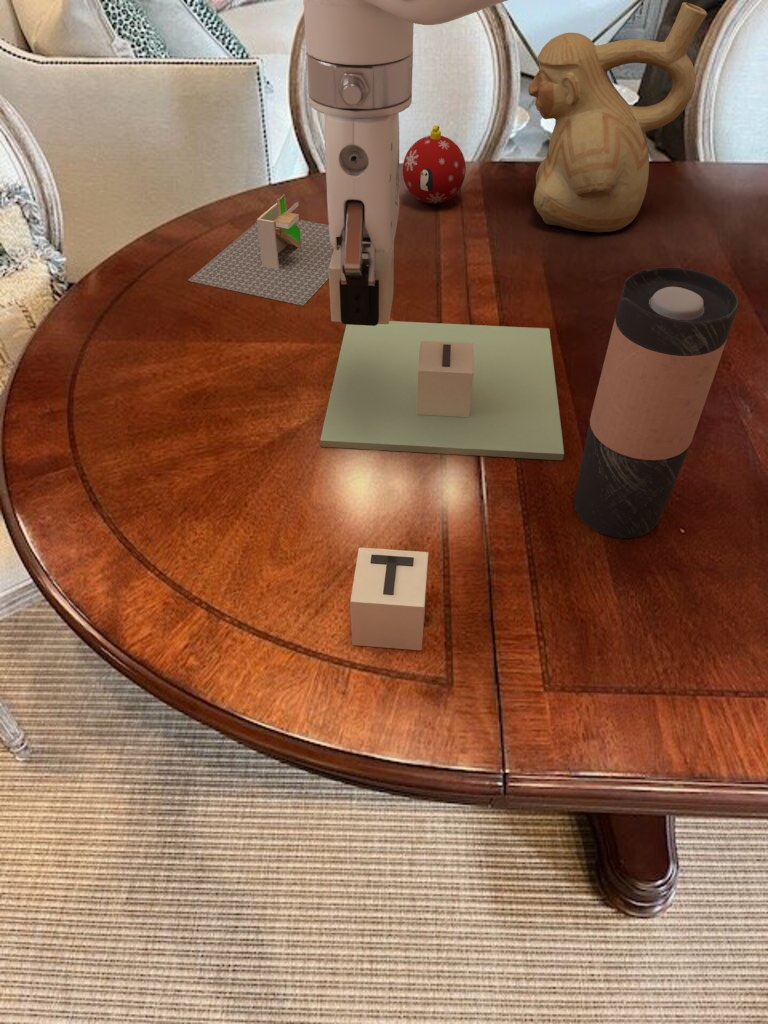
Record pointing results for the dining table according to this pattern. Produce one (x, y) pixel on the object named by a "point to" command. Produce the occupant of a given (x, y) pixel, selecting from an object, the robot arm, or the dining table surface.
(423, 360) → the tile
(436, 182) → the christmas ornament
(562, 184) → the ceramic vessel
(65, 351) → the dining table surface
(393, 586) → the tile
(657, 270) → the travel mug
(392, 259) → the tile
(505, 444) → the board
